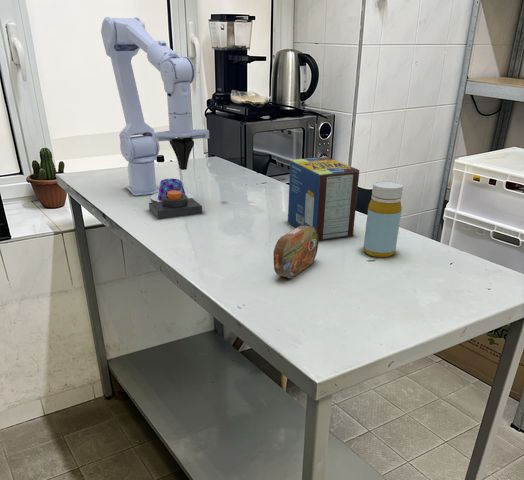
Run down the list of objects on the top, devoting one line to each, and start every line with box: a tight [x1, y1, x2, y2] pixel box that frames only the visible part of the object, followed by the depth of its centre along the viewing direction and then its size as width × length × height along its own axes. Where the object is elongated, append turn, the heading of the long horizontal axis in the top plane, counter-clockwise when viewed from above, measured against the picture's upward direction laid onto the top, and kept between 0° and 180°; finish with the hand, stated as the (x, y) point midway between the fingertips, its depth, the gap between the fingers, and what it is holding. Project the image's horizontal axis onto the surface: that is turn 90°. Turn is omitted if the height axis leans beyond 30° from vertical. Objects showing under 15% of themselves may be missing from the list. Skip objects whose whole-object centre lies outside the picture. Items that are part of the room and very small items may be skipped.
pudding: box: [150, 178, 194, 202], centre depth 152 cm, size 12×12×5 cm
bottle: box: [363, 180, 404, 258], centre depth 117 cm, size 7×7×15 cm
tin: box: [273, 226, 319, 279], centre depth 109 cm, size 15×3×8 cm, turn 148°
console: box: [148, 194, 203, 220], centre depth 142 cm, size 12×8×4 cm, turn 116°
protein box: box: [287, 156, 360, 242], centre depth 129 cm, size 10×15×16 cm
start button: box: [167, 190, 182, 200], centre depth 141 cm, size 4×4×2 cm
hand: (183, 169), depth 141 cm, fingers closed
